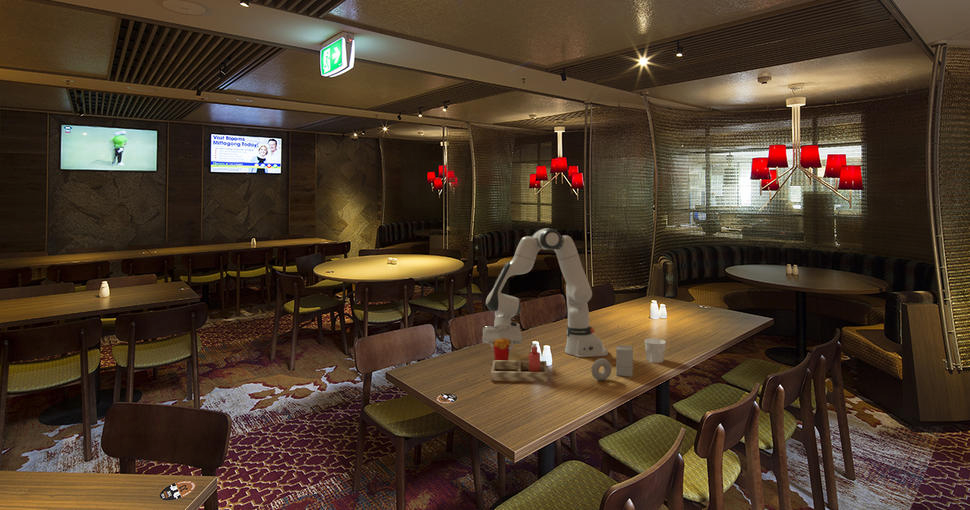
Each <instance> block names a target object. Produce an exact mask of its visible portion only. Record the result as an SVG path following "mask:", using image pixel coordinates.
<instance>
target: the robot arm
mask: <svg viewBox="0 0 970 510" xmlns="http://www.w3.org/2000/svg"><path fill="white" fill-rule="evenodd" d="M540 250H550V251H551V250H553V252H555V254H556V258H557V262H558V264H559V267H560V271H561V273H562V275H563V276H562V277H563V279H564V281H565V294H566V295H565V296H566V307H567V326H566V337H567V338H566V342H565V343H566V345H565V348H564V353H566V354H568V355H571V356H575V357H578V358H587V357H588V358H590V357H606V356H608V354H609V353H608V350H607V348H605V347H604V343H603V341H602V340H601V338H599V337H598V335H596V334H594V332H595V328H593V327H592V326H591V325H590V321H589V320H590V312H589V306H588V302H589V301H590V300H591V299H592V297H593V291H592V288H591V285H590V282H589V280H588V278H587V275H586V273H585V270H584V268H583V265H582V261H581V259H580V255H579V253H578V249H577V247H576V244H575V242H574V240H573V238H572V237H571V236H569V235H565V234H564V235H562V234H560V232H558V230H556V229H553V228H549V227H548V228H547V227H546V228H540V229H538V230H536V231H535V232H534V233H533V234H532V235H529V236H528V235H527V236H523V237H522V238H521V239H520V241H519V242H518V245H517V247H516V250H515V252H514V255H513V257H512V259H511V260H510V261H509V262H506V263H505V264H504V265H503V267H502V269H501V270H500V272H499V274H498V276H497V277H496V280H495V282H494V284H493V286H492V288H491V290H490V291H489V293H488V294H487V297H486V299H485V306H486V307H487V309H488V310H489V311H491V312H494V317H495V318H494V320H493V321H494V323H493V326H492V325H490V326H489V325H487V326H483V328H482V343H483V344H490V346H491V351H493V352H494V347H493V346H494V341H495V342H496V340H497V339H500V338H501V339H502V338H503V339H504V340H505V338H506V339H508V341H509V340H510V343H509V345H510V346H509V347H508V351H509V352H511V351H512V348H513V347H514V344H515V345H517V344H519V345H520V344H521V343H523V338H522V337H523V336H522V331H521V328H520V323H518V322H516V321H512V320H511V319H512V318H514V317H515V316H517V315H518V314H520V312H521V310H522V302H521V300H520V298H519V297H516V296H513V295H508V294H506V293H502V290H503V288H504V286H505V284H506V282H507V280H508V279H509V278H510V277H512V276H516V275H517V276H519V275H524V274H528V273H529V272H530V271H531V270H533V267H534V264H535V262H536V259H537V255H538V253H539V252H540Z"/></svg>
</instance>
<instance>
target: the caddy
mask: <svg viewBox="0 0 970 510" xmlns="http://www.w3.org/2000/svg"><path fill="white" fill-rule="evenodd" d="M491 364H492V365H491V370H490V381H493V382H494V381H497V382H502V381H503V382H540V383H541V382H543V383H546V382H548V381H549V380H548V374H549V373H548V365H547V361H546V360H540V372H529V360H510V359H508V360H495V359H494V360H492V363H491ZM496 370H497V371H496ZM498 370H500V371H498ZM501 370H503V371H501ZM504 370H510V371H504ZM511 370H517V371H511ZM523 370H525V371H523ZM526 370H528V371H526Z"/></svg>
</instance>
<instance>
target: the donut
mask: <svg viewBox="0 0 970 510" xmlns="http://www.w3.org/2000/svg"><path fill="white" fill-rule="evenodd" d="M601 367H603V370H602V372H600V368H601ZM590 369H591V372H590V373H591V375H592V376H593V378H594V379H595V380H597V381H605V380H607V379H608V378H609V377H610V376H611V373H612V364H611V362H610V361H609V360H608V359H606V358H598V359H596V360H595V361H594V362H593V363H592V366H591V368H590Z"/></svg>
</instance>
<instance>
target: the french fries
mask: <svg viewBox="0 0 970 510" xmlns="http://www.w3.org/2000/svg"><path fill="white" fill-rule="evenodd" d="M509 343H510V340H509V341H508V339H506V338H505V340H504V339H503V338H502V339H501V338H500V339H497V340H496V342H495V341H494V343H493V347H494V351H493V355H494V360H509V356H510V355H509V354H510V351H508V347H509V346H511V344H509Z"/></svg>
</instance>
